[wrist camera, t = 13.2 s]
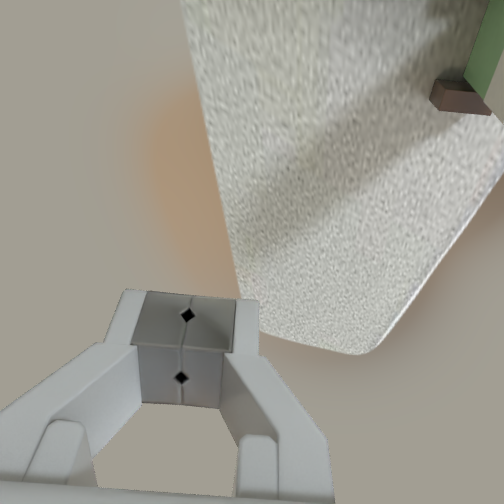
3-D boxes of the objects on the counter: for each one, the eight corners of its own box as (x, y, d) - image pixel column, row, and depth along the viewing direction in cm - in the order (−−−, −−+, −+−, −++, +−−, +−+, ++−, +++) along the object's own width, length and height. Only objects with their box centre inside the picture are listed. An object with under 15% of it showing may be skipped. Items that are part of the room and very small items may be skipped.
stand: (428, 100, 36) (438, 110, 34) (476, -51, 30) (491, -49, 28) (478, 105, 36) (490, 116, 34) (535, -45, 30) (554, -42, 28)
